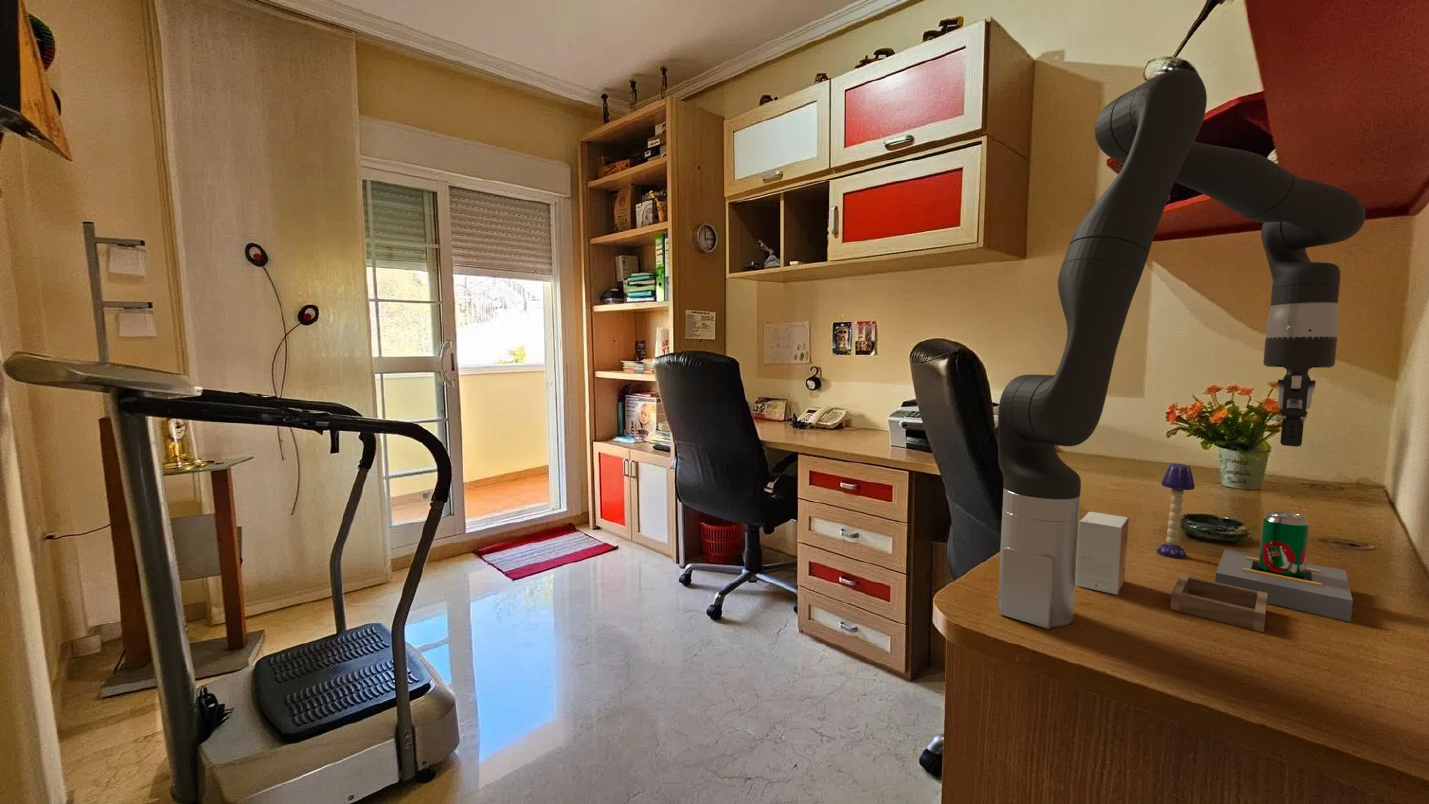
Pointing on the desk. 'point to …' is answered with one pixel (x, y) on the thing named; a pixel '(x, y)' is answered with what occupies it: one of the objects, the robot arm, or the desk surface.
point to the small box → (1102, 552)
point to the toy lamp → (1175, 507)
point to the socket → (1290, 585)
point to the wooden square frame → (1220, 602)
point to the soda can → (1283, 544)
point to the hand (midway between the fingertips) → (1290, 443)
